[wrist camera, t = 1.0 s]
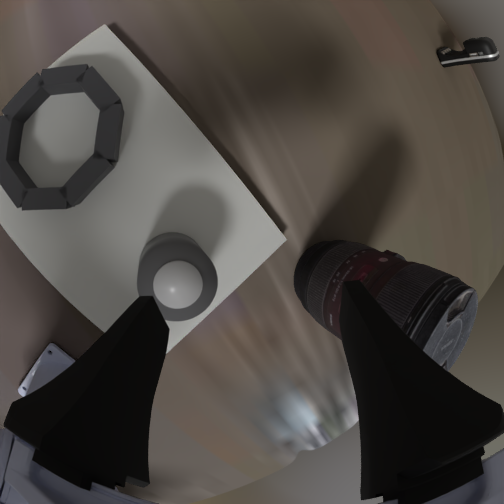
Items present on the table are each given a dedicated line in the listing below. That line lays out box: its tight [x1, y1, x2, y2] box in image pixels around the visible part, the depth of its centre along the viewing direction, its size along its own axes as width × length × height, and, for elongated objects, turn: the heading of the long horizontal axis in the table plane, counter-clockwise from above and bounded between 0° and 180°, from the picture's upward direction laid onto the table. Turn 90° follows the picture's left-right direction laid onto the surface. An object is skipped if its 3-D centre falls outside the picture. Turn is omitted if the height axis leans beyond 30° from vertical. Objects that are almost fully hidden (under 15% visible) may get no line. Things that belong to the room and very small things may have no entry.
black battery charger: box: [437, 37, 499, 67], centre depth 22 cm, size 7×4×11 cm, turn 126°
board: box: [0, 24, 287, 353], centre depth 16 cm, size 16×24×3 cm, turn 39°
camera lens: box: [294, 240, 478, 371], centre depth 19 cm, size 8×8×15 cm
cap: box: [137, 232, 218, 321], centre depth 18 cm, size 5×5×4 cm
